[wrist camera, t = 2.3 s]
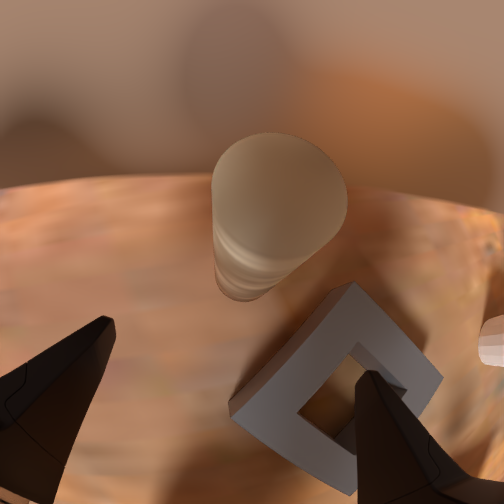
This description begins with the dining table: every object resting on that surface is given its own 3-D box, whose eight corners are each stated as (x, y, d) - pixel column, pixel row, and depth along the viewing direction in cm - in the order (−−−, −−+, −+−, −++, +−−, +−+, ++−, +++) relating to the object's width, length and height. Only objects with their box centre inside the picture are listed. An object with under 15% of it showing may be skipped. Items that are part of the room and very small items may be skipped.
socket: (415, 374, 21) (443, 377, 17) (331, 476, 17) (349, 496, 13) (332, 289, 22) (354, 280, 18) (228, 401, 19) (230, 417, 15)
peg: (283, 272, 22) (369, 193, 9) (244, 313, 21) (289, 287, 8) (243, 234, 22) (276, 114, 9) (202, 273, 21) (181, 184, 8)
